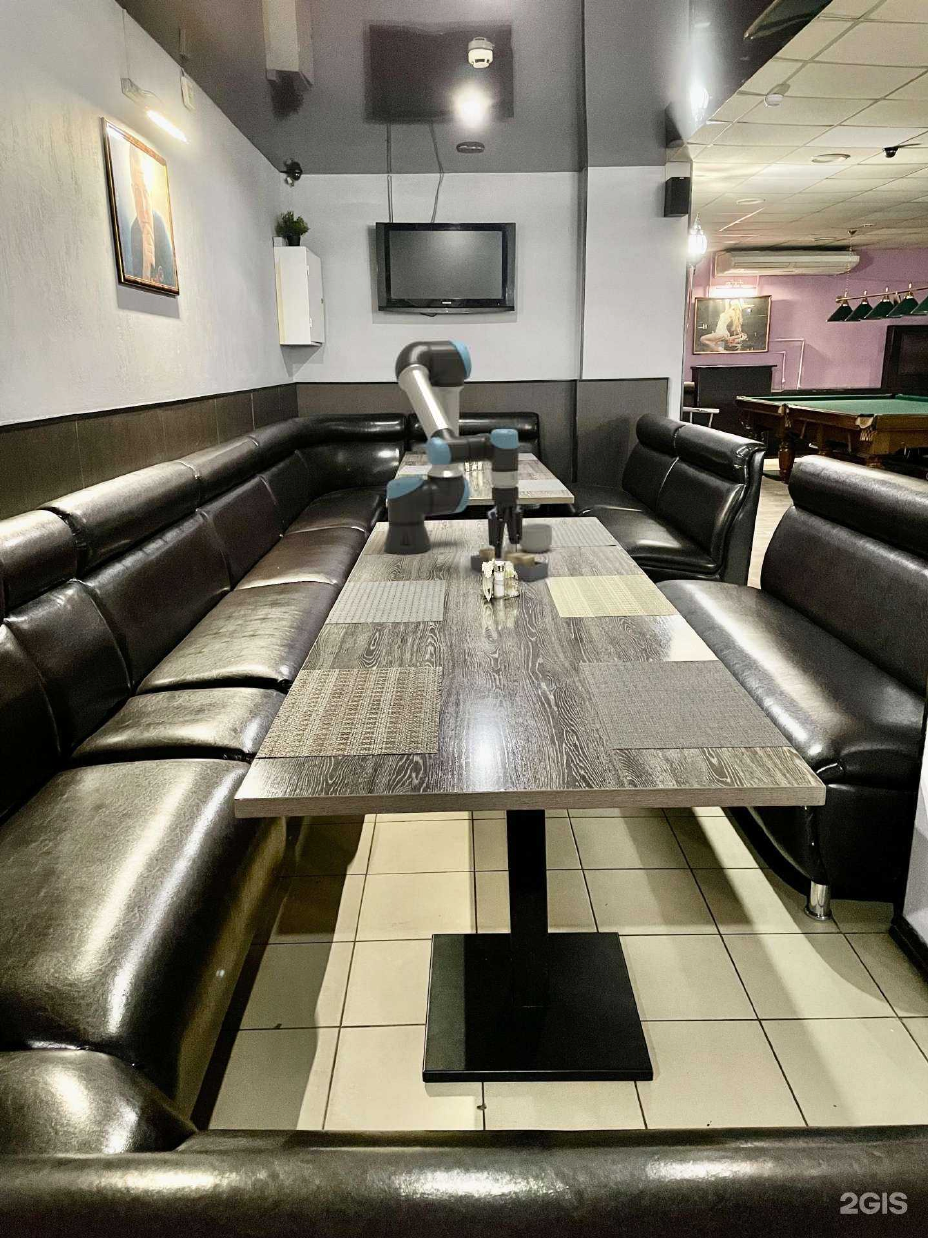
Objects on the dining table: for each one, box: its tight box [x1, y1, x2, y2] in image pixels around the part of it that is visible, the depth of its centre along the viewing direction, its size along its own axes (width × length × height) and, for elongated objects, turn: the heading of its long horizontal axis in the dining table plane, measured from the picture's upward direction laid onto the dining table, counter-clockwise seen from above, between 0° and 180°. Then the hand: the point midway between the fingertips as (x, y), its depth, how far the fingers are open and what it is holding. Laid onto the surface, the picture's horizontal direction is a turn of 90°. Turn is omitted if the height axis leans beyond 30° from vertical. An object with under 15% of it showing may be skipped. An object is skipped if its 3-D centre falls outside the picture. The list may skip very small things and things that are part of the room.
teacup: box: [518, 522, 553, 554], centre depth 279 cm, size 14×11×8 cm
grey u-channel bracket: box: [470, 553, 488, 573], centre depth 255 cm, size 6×8×4 cm
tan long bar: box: [478, 547, 536, 567], centre depth 250 cm, size 18×4×5 cm, turn 44°
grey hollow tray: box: [514, 560, 549, 583], centre depth 243 cm, size 6×8×4 cm
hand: (505, 567), depth 250 cm, fingers closed on tan long bar, 4 cm apart
